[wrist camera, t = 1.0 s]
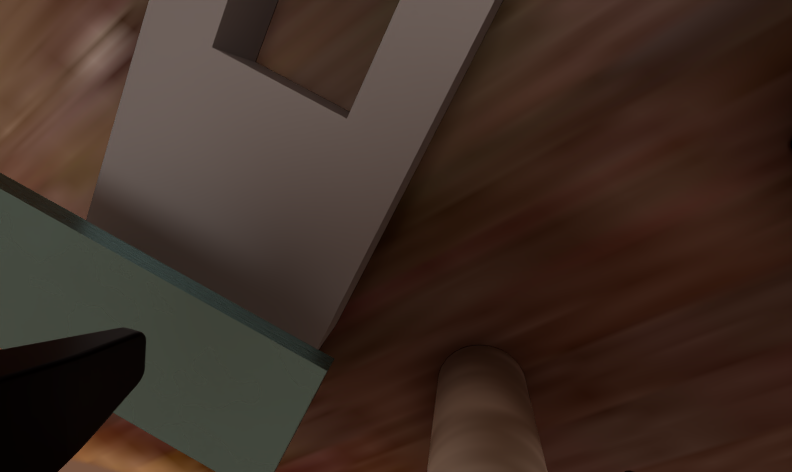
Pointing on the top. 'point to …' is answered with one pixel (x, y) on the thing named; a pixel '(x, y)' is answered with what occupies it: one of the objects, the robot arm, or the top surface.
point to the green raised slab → (157, 335)
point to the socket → (273, 153)
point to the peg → (483, 416)
